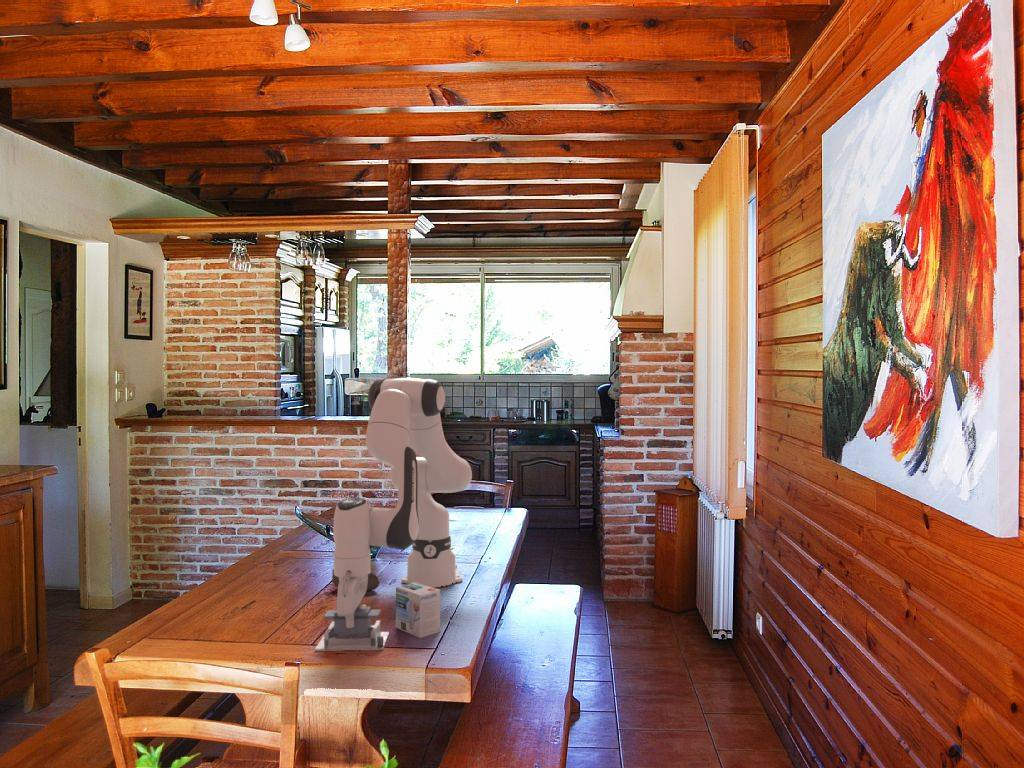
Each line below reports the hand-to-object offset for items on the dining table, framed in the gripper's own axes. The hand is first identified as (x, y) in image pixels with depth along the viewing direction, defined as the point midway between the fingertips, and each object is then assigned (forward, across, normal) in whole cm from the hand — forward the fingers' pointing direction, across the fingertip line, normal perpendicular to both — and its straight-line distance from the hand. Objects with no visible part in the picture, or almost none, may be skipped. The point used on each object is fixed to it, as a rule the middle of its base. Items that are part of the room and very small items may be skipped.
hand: (352, 622), depth 185 cm
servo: (+2, 0, 0) cm, 2 cm away
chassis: (+5, 0, 0) cm, 5 cm away
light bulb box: (+5, +8, -15) cm, 18 cm away
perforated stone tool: (+5, +44, +7) cm, 45 cm away
